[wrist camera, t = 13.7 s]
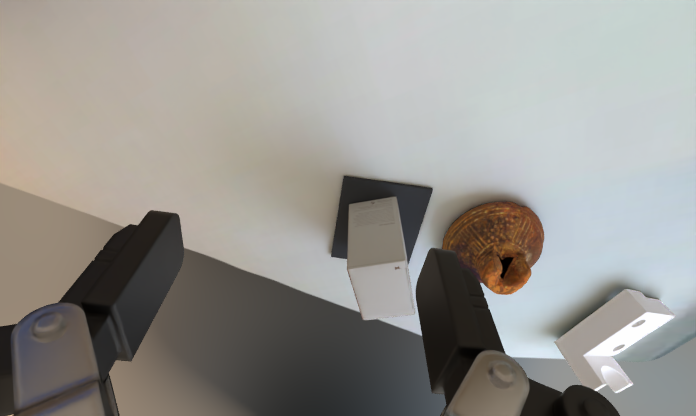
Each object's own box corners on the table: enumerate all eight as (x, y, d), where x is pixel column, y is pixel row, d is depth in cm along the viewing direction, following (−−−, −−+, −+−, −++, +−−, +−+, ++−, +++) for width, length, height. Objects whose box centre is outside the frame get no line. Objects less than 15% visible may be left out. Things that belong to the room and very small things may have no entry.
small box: (348, 202, 43) (345, 267, 34) (397, 194, 42) (406, 259, 33) (361, 253, 47) (361, 322, 39) (405, 247, 46) (415, 316, 38)
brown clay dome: (422, 251, 47) (431, 295, 41) (487, 182, 41) (508, 222, 35) (493, 284, 50) (510, 330, 45) (563, 225, 44) (594, 268, 38)
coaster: (331, 254, 48) (331, 257, 48) (344, 175, 41) (343, 177, 41) (407, 264, 49) (407, 266, 48) (432, 188, 42) (432, 189, 41)
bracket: (583, 344, 59) (618, 392, 53) (554, 342, 56) (588, 393, 50) (654, 294, 52) (703, 344, 46) (625, 288, 49) (674, 341, 43)
